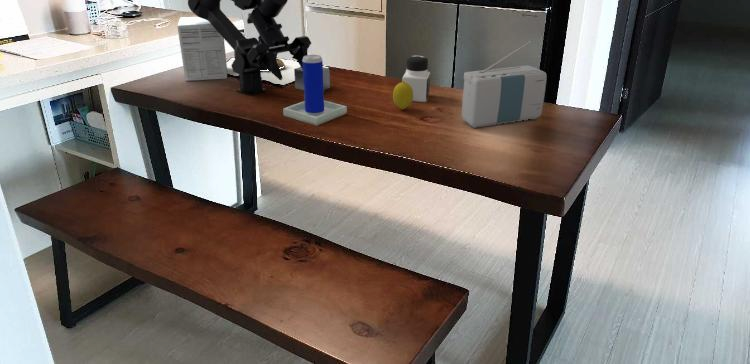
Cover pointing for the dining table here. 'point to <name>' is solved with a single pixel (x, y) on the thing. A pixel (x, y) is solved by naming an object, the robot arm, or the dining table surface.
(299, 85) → the box
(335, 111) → the tray
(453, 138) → the dining table surface
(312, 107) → the beverage can
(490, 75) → the stereo radio cassette player
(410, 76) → the medicine bottle
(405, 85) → the lemon
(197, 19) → the supplement box
